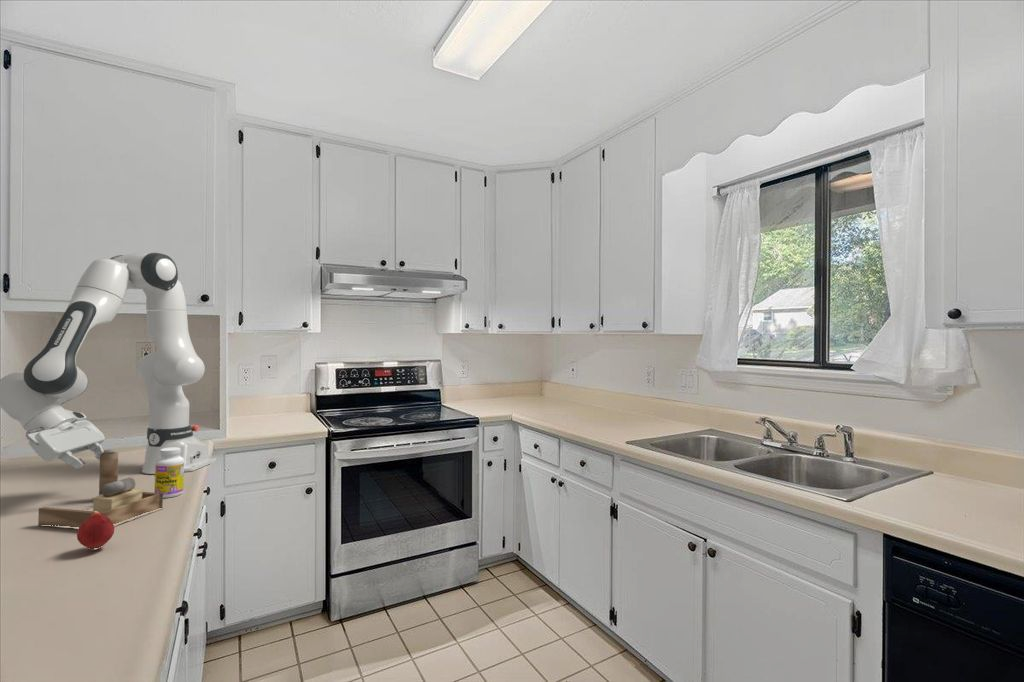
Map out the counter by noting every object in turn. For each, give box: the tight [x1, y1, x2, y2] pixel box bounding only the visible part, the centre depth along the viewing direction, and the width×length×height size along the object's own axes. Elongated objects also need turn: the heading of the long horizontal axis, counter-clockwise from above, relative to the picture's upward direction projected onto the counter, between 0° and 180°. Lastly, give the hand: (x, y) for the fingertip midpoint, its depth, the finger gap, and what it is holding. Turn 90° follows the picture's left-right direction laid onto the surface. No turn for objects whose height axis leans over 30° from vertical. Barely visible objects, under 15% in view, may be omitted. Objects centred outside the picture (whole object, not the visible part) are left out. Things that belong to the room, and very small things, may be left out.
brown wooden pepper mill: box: [98, 449, 119, 496], centre depth 135 cm, size 5×5×13 cm
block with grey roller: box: [91, 477, 145, 512], centre depth 121 cm, size 8×5×9 cm, turn 171°
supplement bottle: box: [153, 447, 185, 499], centre depth 140 cm, size 7×7×13 cm
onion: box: [76, 511, 115, 550], centre depth 103 cm, size 6×6×8 cm
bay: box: [37, 491, 164, 527], centre depth 122 cm, size 16×17×4 cm
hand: (93, 462), depth 134 cm, fingers open, 8 cm apart
